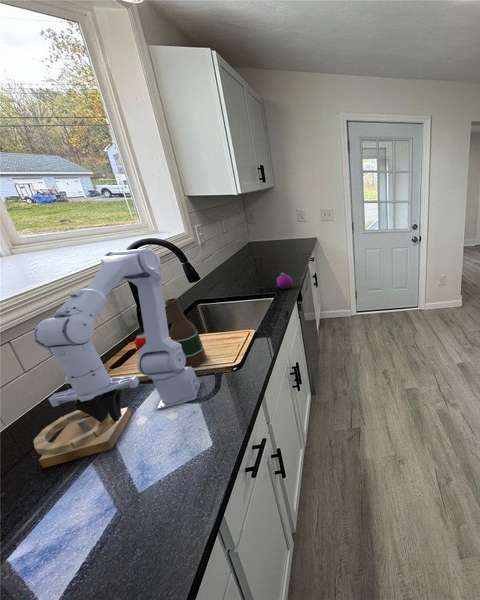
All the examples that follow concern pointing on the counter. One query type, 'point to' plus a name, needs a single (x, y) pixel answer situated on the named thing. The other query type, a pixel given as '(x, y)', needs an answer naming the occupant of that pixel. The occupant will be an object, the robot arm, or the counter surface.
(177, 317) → the beer bottle
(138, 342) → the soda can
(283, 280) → the christmas ornament
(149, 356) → the robot arm
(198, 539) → the counter surface
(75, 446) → the hoop
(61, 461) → the stand
